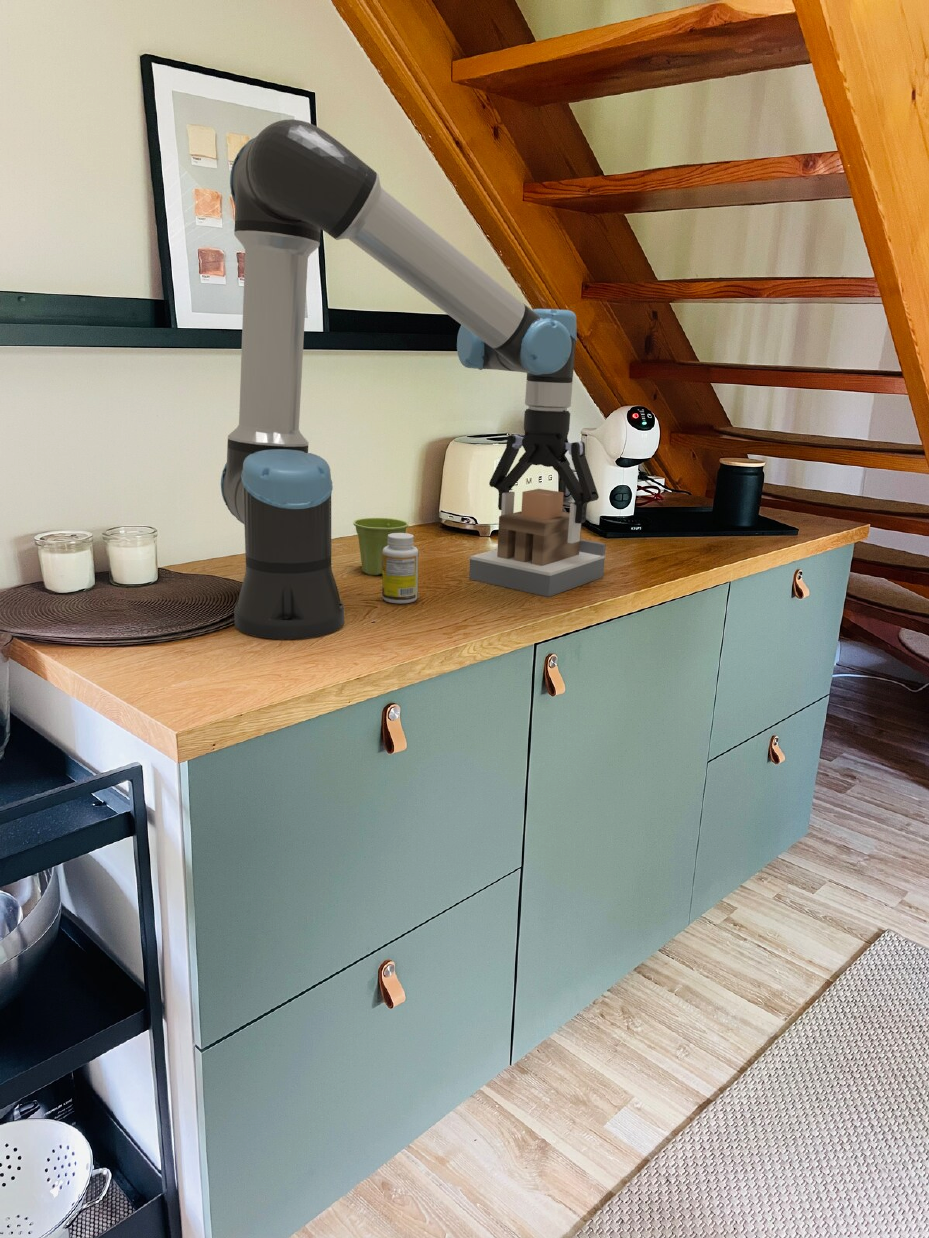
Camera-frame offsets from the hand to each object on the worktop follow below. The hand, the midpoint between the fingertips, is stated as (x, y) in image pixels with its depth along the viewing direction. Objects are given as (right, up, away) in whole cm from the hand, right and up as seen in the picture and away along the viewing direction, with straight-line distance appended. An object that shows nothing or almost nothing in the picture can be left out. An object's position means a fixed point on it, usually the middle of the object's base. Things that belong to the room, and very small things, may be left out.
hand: (539, 535), depth 156 cm
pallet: (0, -3, +1) cm, 4 cm away
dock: (0, -7, +2) cm, 8 cm away
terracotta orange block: (0, +3, -1) cm, 4 cm away
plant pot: (-27, -6, +3) cm, 28 cm away
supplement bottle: (-23, -11, -14) cm, 29 cm away
